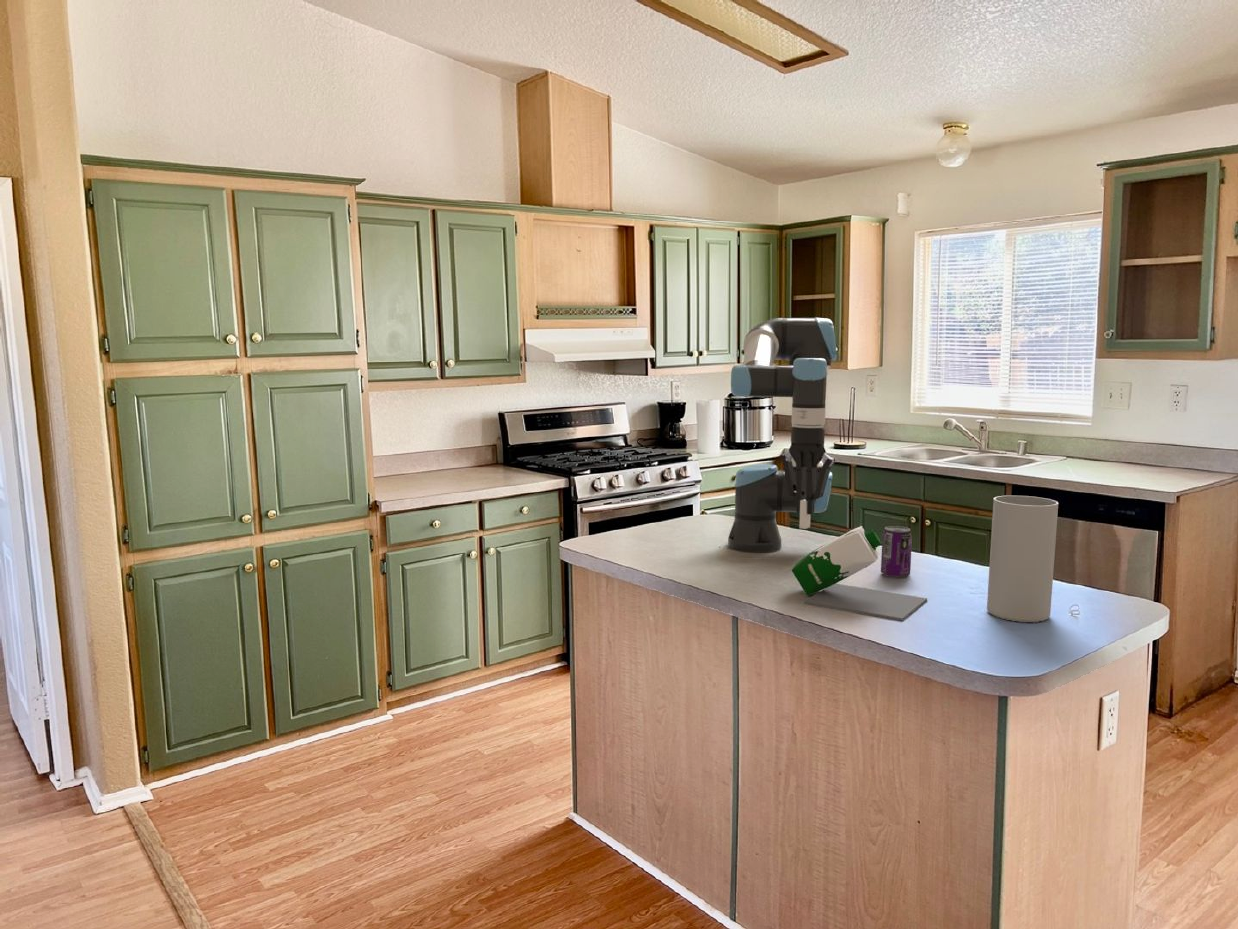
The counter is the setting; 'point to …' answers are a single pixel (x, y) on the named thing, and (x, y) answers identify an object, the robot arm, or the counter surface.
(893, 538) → the beverage can
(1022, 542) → the cylinder vase
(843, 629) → the counter surface
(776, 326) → the robot arm
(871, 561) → the soya milk
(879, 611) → the mat
